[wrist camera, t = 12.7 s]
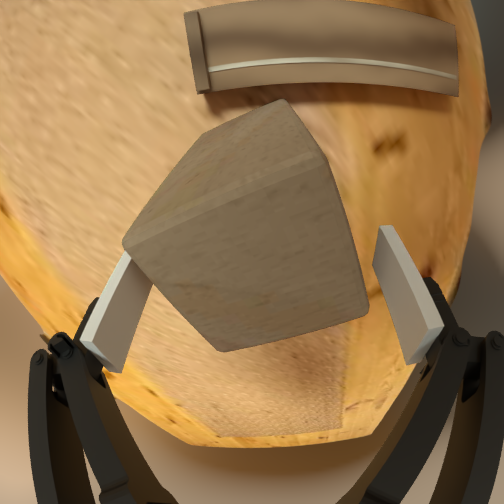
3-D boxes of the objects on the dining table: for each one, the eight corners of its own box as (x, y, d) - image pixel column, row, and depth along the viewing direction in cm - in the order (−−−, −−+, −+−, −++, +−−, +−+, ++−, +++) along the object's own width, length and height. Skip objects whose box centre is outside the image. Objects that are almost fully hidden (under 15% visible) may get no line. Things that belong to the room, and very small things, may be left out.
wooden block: (318, 177, 30) (372, 316, 14) (240, 207, 33) (219, 356, 17) (284, 96, 25) (325, 150, 9) (199, 135, 28) (114, 244, 12)
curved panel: (190, 16, 19) (180, 11, 17) (442, 25, 16) (460, 24, 14) (202, 92, 25) (195, 95, 22) (446, 93, 22) (463, 98, 19)
